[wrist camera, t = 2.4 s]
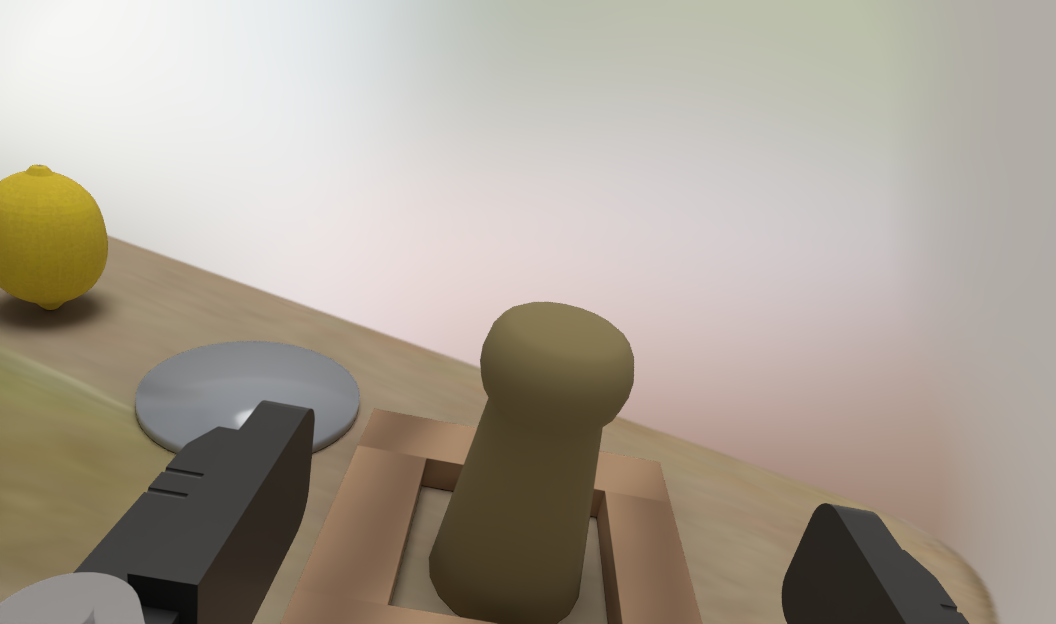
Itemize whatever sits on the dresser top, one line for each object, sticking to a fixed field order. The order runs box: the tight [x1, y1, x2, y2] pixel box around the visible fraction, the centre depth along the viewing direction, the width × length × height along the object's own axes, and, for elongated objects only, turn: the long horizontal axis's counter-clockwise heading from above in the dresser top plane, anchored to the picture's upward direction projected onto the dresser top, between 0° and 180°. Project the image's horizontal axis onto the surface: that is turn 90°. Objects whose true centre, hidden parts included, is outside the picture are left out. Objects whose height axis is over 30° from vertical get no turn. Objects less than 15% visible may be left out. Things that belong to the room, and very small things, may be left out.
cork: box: [429, 302, 634, 624], centre depth 24 cm, size 6×6×11 cm
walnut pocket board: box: [280, 409, 702, 624], centre depth 26 cm, size 14×14×2 cm
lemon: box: [0, 165, 108, 310], centre depth 35 cm, size 6×6×8 cm
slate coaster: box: [135, 341, 360, 454], centre depth 33 cm, size 10×10×1 cm
